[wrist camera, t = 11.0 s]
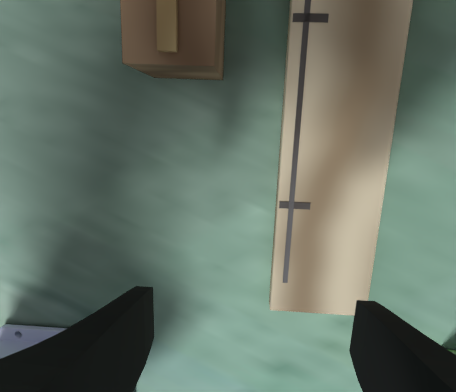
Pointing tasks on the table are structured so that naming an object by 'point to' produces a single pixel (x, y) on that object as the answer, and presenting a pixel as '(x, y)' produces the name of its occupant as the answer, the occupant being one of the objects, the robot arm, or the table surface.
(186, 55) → the brown small block
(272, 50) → the table surface
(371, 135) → the birch plank
